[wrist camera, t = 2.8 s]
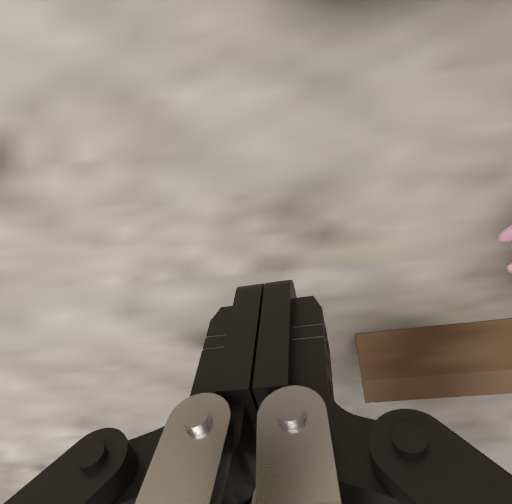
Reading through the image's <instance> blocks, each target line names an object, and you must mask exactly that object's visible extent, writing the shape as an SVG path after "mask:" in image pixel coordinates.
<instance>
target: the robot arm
mask: <svg viewBox="0 0 512 504" xmlns="http://www.w3.org/2000/svg"><path fill="white" fill-rule="evenodd" d="M203 349H204V350H203V351H202V354H201V358H200V361H199V365H198V369H197V372H196V376H195V380H194V383H193V387H192V391H191V394H190V397H189V398H187V399H185V400H184V401H182V402H181V403H180V404H179V405H177V406H176V407H175V409H174V410H173V411H172V412H171V414H170V415H169V418H168V420H167V422H166V425H165V426H164V427H162V428H160V429H158V430H155V431H153V432H150V433H147V434H145V435H142V436H139V437H137V438H134V439H131V440H127V438H126V436H125V435H124V434H123V433H122V432H121V431H120V430H118V429H115V428H103V429H99V430H96V431H94V432H92V433H90V434H88V435H86V436H85V437H83V438H82V439H81V440H79V441H78V442H77V443H76V444H74V445H73V446H72V447H71V448H70V449H69V450H67V451H66V452H65V453H64V454H63V455H61V456H60V457H59V458H58V459H57V460H55V461H54V462H53V463H52V464H51V465H49V466H48V467H47V468H46V469H45V470H43V471H42V472H41V473H40V474H39V475H37V476H36V477H35V478H34V479H33V480H31V481H30V482H29V483H28V484H27V485H25V486H24V487H23V488H22V489H21V490H19V491H18V492H17V493H16V494H15V495H14V496H12V497H11V498H10V499H9V500H8V501H6V502H5V503H4V504H512V475H511V474H510V473H508V472H507V471H506V470H504V469H503V468H502V467H500V466H499V465H498V464H496V463H495V462H493V461H492V460H491V459H489V458H488V457H487V456H485V455H484V454H483V453H481V452H480V451H479V450H477V449H476V448H475V447H473V446H472V445H470V444H469V443H468V442H466V441H465V440H464V439H462V438H461V437H460V436H458V435H457V434H456V433H454V432H453V431H452V430H450V429H449V428H447V427H446V426H445V425H443V424H442V423H441V422H439V421H438V420H437V419H435V418H433V417H432V416H430V415H428V414H426V413H424V412H421V411H417V410H412V409H398V410H393V411H390V412H387V413H385V414H383V415H382V416H380V417H379V418H378V419H377V420H373V419H368V418H364V417H360V416H357V415H353V414H351V413H349V412H347V411H345V410H344V409H342V408H341V407H340V406H338V405H337V404H336V403H335V401H334V395H333V383H332V372H331V360H330V349H329V344H328V338H327V333H326V328H325V322H324V317H323V311H322V307H321V306H320V305H319V303H318V302H317V301H316V299H315V298H314V297H313V296H308V297H300V298H296V293H295V289H294V284H293V281H292V280H286V281H278V282H271V283H265V284H257V285H249V286H242V287H237V289H236V294H235V298H234V303H233V306H229V307H221V308H220V310H219V311H218V312H217V313H216V315H215V316H214V317H213V318H212V320H211V321H210V325H209V328H208V332H207V338H206V339H205V343H204V347H203Z"/></svg>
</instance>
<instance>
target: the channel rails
mask: <svg viewBox="0 0 512 504" xmlns="http://www.w3.org/2000/svg"><path fill="white" fill-rule="evenodd" d="M355 336H356V343H357V350H358V357H359V364H360V370H361V377H362V384H363V390H364V397H365V403H368V402H383V401H399V400H414V399H429V398H444V397H459V396H474V395H489V394H504V393H512V319H502V320H492V321H482V322H472V323H462V324H451V325H441V326H431V327H421V328H411V329H401V330H391V331H381V332H371V333H361V334H355Z"/></svg>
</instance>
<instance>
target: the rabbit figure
mask: <svg viewBox="0 0 512 504" xmlns="http://www.w3.org/2000/svg"><path fill="white" fill-rule="evenodd" d="M497 240H498V242H500V243H507V242H512V225H510V226H509V227H507V228H506V229H504V230H503V231H502V232H501V233H500V234H499V236H498V238H497ZM506 269H507V271H508V272H510V273H511V274H512V263H511V264H509V265H508V266H507V267H506Z"/></svg>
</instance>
